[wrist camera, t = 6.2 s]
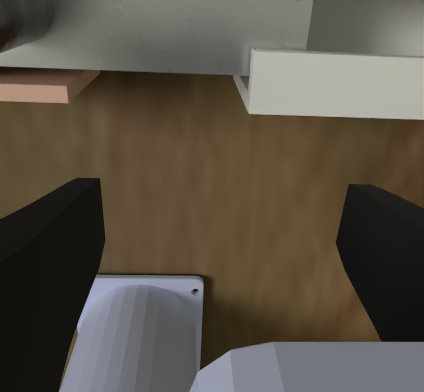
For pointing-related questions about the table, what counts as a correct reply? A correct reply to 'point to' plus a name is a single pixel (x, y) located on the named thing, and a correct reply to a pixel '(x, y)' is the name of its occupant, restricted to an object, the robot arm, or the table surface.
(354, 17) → the white channel beam
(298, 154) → the table surface
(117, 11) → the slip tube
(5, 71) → the socket
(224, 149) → the table surface
